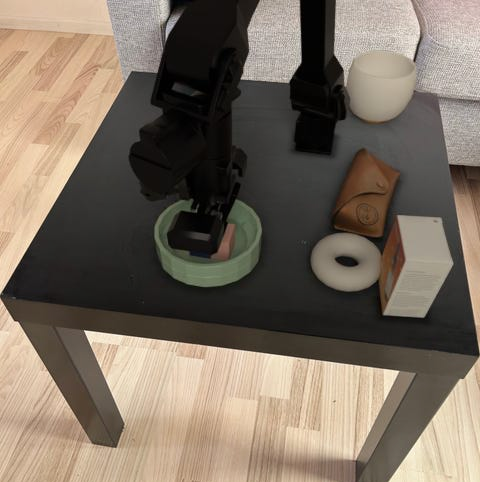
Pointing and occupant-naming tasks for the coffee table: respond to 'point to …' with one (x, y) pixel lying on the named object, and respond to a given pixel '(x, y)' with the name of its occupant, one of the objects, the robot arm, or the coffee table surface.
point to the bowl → (204, 268)
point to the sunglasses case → (365, 196)
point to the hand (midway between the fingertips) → (212, 243)
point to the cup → (380, 85)
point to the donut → (343, 275)
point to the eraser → (222, 246)
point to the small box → (413, 266)
